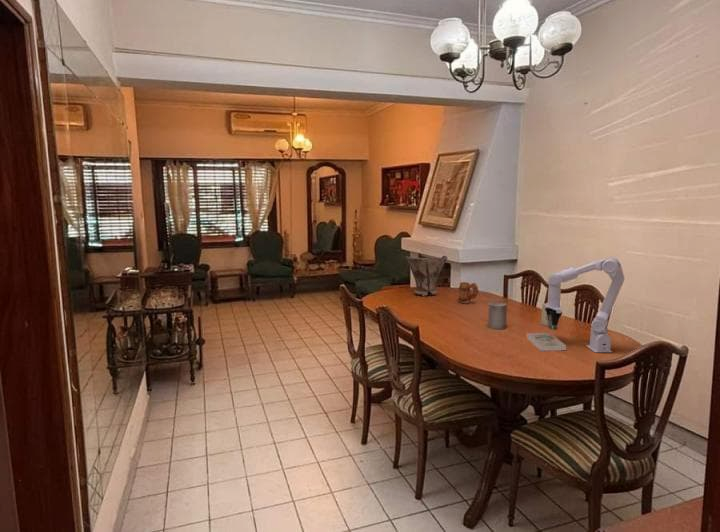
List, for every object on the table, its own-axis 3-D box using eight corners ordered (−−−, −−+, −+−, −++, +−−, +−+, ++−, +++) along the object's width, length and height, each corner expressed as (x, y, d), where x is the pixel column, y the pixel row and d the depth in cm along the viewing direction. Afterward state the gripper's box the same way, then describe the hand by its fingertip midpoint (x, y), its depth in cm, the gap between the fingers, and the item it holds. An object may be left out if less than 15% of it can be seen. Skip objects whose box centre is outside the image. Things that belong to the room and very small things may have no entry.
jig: (565, 350, 216) (566, 345, 215) (540, 350, 216) (540, 345, 216) (549, 337, 236) (550, 332, 235) (526, 337, 236) (526, 333, 236)
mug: (455, 302, 315) (455, 281, 313) (462, 301, 321) (462, 280, 318) (473, 306, 305) (473, 284, 302) (480, 304, 310) (480, 282, 308)
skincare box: (545, 326, 256) (546, 305, 254) (540, 324, 260) (541, 303, 258) (555, 325, 258) (556, 304, 256) (550, 323, 262) (551, 302, 260)
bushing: (558, 329, 225) (559, 315, 224) (549, 329, 225) (550, 315, 224) (555, 327, 230) (556, 313, 229) (546, 327, 230) (547, 313, 229)
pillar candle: (500, 324, 262) (501, 298, 260) (509, 328, 252) (510, 302, 250) (485, 325, 260) (485, 300, 258) (493, 330, 250) (494, 303, 248)
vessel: (450, 292, 349) (450, 254, 345) (441, 299, 325) (441, 258, 321) (413, 290, 361) (413, 252, 357) (402, 296, 337) (402, 257, 333)
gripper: (540, 294, 232) (539, 319, 235) (551, 300, 218) (549, 327, 220) (554, 294, 232) (553, 319, 234) (566, 300, 218) (564, 327, 220)
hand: (552, 323), depth 227 cm, fingers closed on bushing, 4 cm apart
